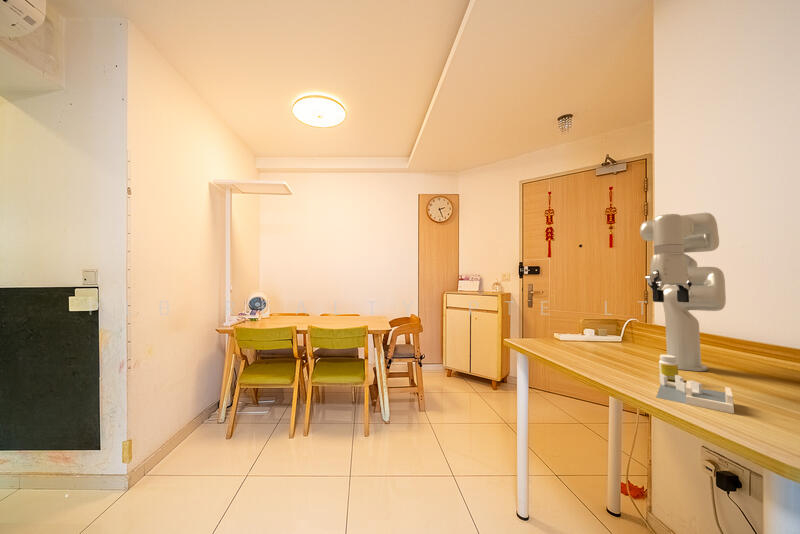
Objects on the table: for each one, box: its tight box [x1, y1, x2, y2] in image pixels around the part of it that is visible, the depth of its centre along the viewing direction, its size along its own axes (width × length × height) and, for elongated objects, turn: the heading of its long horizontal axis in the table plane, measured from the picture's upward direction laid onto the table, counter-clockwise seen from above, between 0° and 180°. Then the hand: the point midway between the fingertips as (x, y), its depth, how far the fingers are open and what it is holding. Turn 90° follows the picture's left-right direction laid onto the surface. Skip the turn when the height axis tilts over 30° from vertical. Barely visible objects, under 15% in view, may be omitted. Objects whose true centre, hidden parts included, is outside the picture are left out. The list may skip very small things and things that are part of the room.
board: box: [655, 383, 733, 415], centre depth 85 cm, size 18×14×1 cm
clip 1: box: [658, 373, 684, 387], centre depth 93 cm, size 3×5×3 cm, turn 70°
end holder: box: [685, 380, 735, 414], centre depth 80 cm, size 9×8×4 cm
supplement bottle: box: [658, 354, 679, 383], centre depth 99 cm, size 5×5×8 cm
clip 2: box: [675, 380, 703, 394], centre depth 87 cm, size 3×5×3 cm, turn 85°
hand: (670, 302), depth 99 cm, fingers open, 9 cm apart
